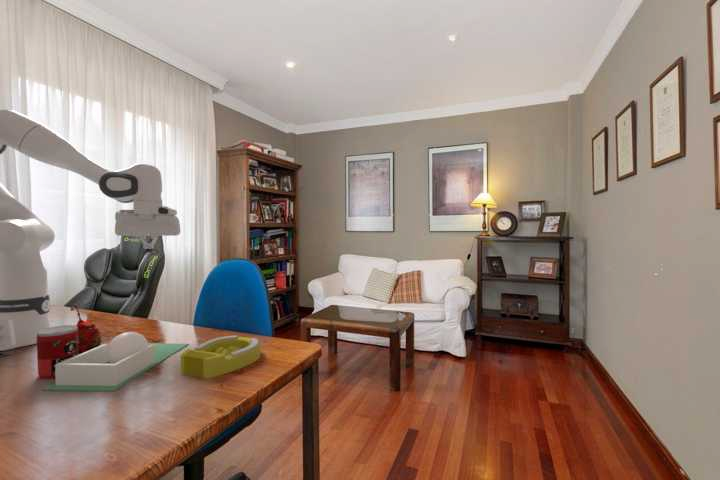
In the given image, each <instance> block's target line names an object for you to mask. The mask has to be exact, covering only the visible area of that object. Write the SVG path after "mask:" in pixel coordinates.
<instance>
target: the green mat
mask: <svg viewBox="0 0 720 480" xmlns="http://www.w3.org/2000/svg"><path fill="white" fill-rule="evenodd" d="M147 343H148V346H149V345H155V362H154V363H153V364H151V365H149V366H148V367H146V368H144V369H143V370H141V371H139V372H138V373H136V374H135V375H133V376H131V377H130V378H128V379H126V380H125V381H123V382H121V383H120V384H118V385H116V386H85V385H56V382H54V383H52V384H51V385H49V386H45V387H44V388H42V391H54V392H55V391H56V392H58V391H61V392H66V391H67V392H69V391H70V392H71V391H72V392H115V391H116V390H118V389H120V388H121V387H123V386H124V385H126V384H128V383H130V382H131V381H132V380H134V379H136V378H137V377H139V376H140V375H143V374H144V373H145V372H147V371H149V370H150V369H152V368H154V367H156V365H158V364H160V363H162V362H163V361H164V360H167V359H168V358H170V357H171V356H173V355H175V354H176V353H177V352H180V351H181V350H182V349H185V347H187V346H189V343H173V342H172V343H170V342H169V343H167V342H166V343H165V342H163V343H160V342H155V343H154V342H153V343H152V342H147ZM107 364H111V363H110V362H109V361H108V363H107Z"/></svg>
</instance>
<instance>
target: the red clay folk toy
mask: <svg viewBox="0 0 720 480" xmlns="http://www.w3.org/2000/svg"><path fill="white" fill-rule="evenodd" d="M72 304H74V305H72V306H70V311H71V312H73V311H75V310H76V311H77V317H78V322H77V324H76V325H75V326H77V327H78V355H79V354H82V353H84V352H86V351H89V350H91V349H93V348H96V347H98V346H101V345H102V344H101V343H102V335H101V334H100V330H99V328H98V327H97V326H96V324H95V323H96V322H93V321H92V320H89V319H87V320H83V319H82V318H81V314H82V313H81V312H79V308H78V306H80V305H82V303H79V304H76V302H75V301H72Z"/></svg>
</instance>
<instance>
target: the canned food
mask: <svg viewBox="0 0 720 480" xmlns="http://www.w3.org/2000/svg"><path fill="white" fill-rule="evenodd" d="M36 354H37V355H36V357H37V375H38V377H39V378H40V379H42V380H51V379H56V376H55V364H58V363H60V362H63V361H65V360H67V359H70V358H72V357H74V356H77V355H79V354H78V327H77V326H76V325H71V324H68V325H67V324H66V325H64V324H63V325H57V326H52V327H50V328H45V329H42V330H40V331H38V332H37V343H36Z"/></svg>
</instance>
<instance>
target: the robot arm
mask: <svg viewBox="0 0 720 480" xmlns="http://www.w3.org/2000/svg"><path fill="white" fill-rule="evenodd" d="M7 147H10V148H12V149H14V150H16V151H18V152H19V153H21V154H23V155H25V156H27V157H29V158H31V159H33V160H36V161H39V162H41V163H44V164H47V165H50V166H54V167H56V168H60V169H64V170H67V171H69V172H73V173H75V174H77V175H80V176H82V177H83V178H85V179H87V180H89V181H91V182H93V183H94V184H96V185H98V187H99V190H100V191H101V193H102V194H103V195H105V196H107V197H108V198H110V199H113V200H116V201H117V202H119V203H121V204H122V203H123V204H130V203H132V205H133V209H120V210H118V211H116V212H115V214H114V215H115V216H114V219H115V225H114V234H115V235H116V236H119V237H124V236H126V237H130V236H134V237H137V236H139V240H140V242H141V243H142V249H146V250H147V249H155V244H156V242H157V240H158V237H160V236H163V237H164V236H166V237H167V236H169V237H170V236H171V237H172V236H173V237H175V236H177V237H178V236H179V235H180V234H181V224H180V220H179V217H178V216H177V213H178V212H177V209H174V208H171V207H168V206H165V205H163V200H162V192H163V181H162V174H161V171H160V169H158V168H157V167H156V166H154V165H151V164H148V163H142V162H139V163H135V164H133V165H131V166H129V167H127V168H126V167H125V168H123V169H119V170H111V171H110V170H109V169H107V168H106V167H103V166H102V165H100V164H98V162H97V163H96V162H95V161H93V160H92V159H90V158H88V157H87V156H85V155H84V154H83V152H81V151H79V150H78V149H77V148H76V147H75V146H74V145H73V144H72V143H70V142H69V141H68V140H67V139H66V138H64V137H63V136H62V135H61V134H59V133H58V132H57V131H55V130H53V129H52V128H50V127H48V126H46V125H45V124H43V123H41V122H40V121H38V120H35V119H34V118H32V117H29V116H27V115H24V114H22V113H20V112H17V111H15V110H12V109H7V108H6V109H5V108H4V109H0V155H2V154H3V153H4V152H5V151H6V149H7ZM55 236H56V235H55V232H54V229H52V227H50V226H49V225H47V224H46V223H45V222H43V220H41V219H40V218H39V217H38V216H37V215H36V214H35V213H34V212H33V211H31V210H30V209H29V208H27V207H26V206H25V205H24V204H22V203H21V202H20V201H19V200H18V199H17V198H16V197H15V196H14V195H13V194H12V193H11V192H10V191H9V190H8V189H7V188H6V187H5V186H4V184H2V182H0V351H8V350H12V349H16V348H21V347H27V346H30V345H31V346H32V345H35V344H36V345H37V332H38V331H40V330H42V329H45V328H50V327H53V326H52V322H51V318H50V317H51V316H50V313H49V312H50V310H51V309H50V307H51V304H50V301H51V300H50V294H49V293H48V271H47V269H46V268H45V266H44V264H43V260H42V257H41V252H42V251H45V250H46V249H48V248H49V247H50V246H51V245H52V244H53V243H54V241H55V238H56V237H55ZM147 236H150V239H151V241H150V243H148V242H147V241H146V239H147Z"/></svg>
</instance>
